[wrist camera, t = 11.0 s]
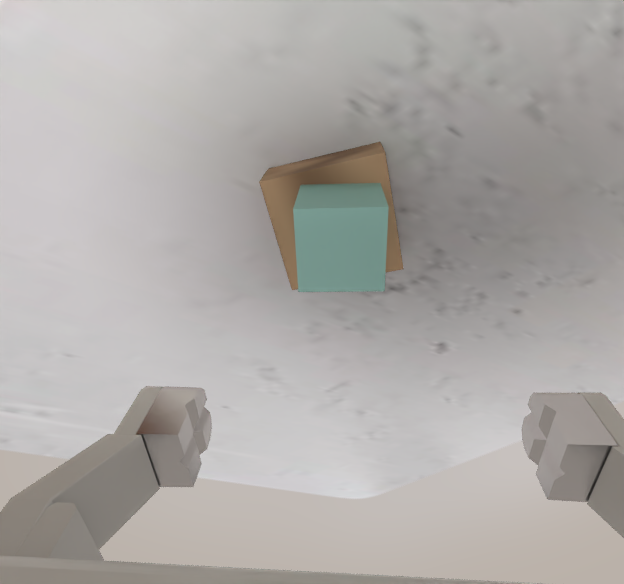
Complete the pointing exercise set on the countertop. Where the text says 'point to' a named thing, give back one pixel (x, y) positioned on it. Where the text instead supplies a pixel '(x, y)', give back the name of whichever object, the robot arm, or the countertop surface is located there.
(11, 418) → the countertop surface
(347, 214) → the teal cube
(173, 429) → the robot arm
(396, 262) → the walnut slab
